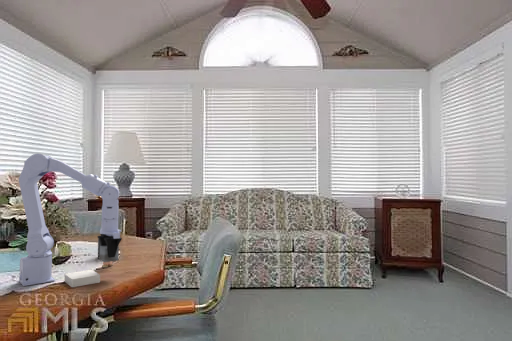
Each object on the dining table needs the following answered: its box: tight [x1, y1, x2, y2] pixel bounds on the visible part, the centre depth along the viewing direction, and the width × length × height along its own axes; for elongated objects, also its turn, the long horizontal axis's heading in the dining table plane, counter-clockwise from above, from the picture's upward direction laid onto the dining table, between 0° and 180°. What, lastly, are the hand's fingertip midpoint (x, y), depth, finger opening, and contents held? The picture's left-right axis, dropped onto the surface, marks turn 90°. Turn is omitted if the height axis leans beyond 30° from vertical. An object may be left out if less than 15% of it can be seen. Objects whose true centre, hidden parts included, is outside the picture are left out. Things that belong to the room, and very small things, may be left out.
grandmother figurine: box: [101, 261, 114, 268], centre depth 146 cm, size 8×4×13 cm, turn 168°
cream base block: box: [63, 269, 101, 288], centre depth 123 cm, size 9×9×3 cm
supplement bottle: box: [97, 233, 102, 259], centre depth 162 cm, size 7×7×12 cm
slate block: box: [98, 245, 120, 263], centre depth 130 cm, size 5×5×5 cm
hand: (108, 255), depth 130 cm, fingers closed on slate block, 5 cm apart
